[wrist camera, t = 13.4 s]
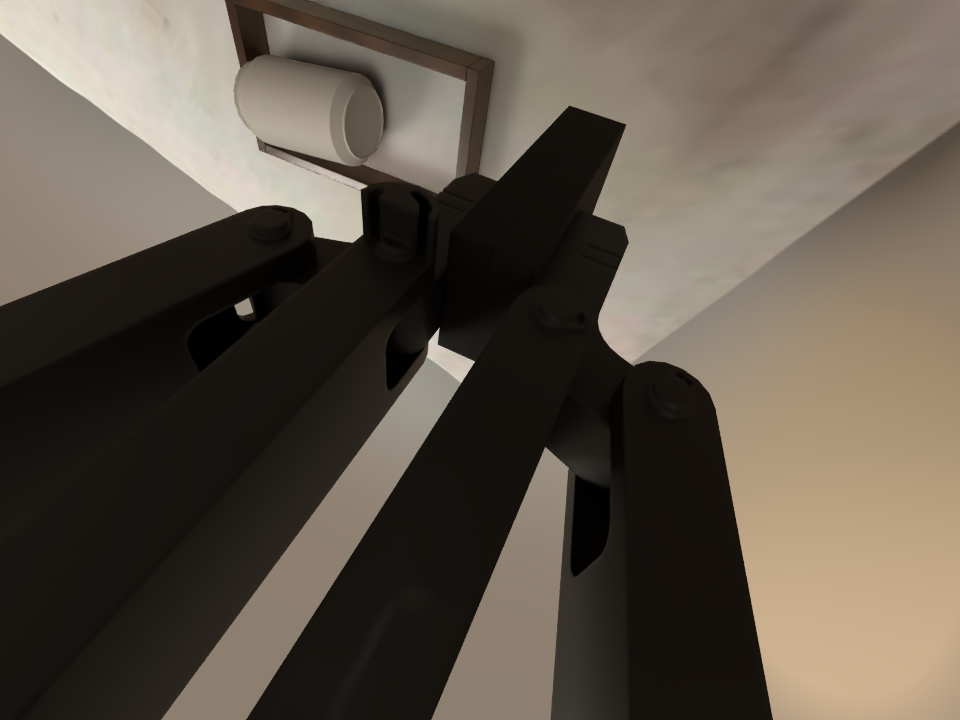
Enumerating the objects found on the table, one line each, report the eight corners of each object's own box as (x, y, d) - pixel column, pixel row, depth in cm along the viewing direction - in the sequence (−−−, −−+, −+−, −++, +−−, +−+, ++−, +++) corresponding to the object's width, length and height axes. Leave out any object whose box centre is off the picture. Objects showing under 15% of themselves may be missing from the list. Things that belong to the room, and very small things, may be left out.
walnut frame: (278, 140, 50) (259, 150, 48) (247, -20, 40) (221, -15, 38) (471, 216, 46) (458, 230, 44) (494, 61, 36) (479, 70, 34)
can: (373, 181, 44) (274, 154, 47) (396, 105, 43) (295, 82, 46) (328, 145, 37) (215, 116, 40) (355, 54, 36) (239, 31, 39)
